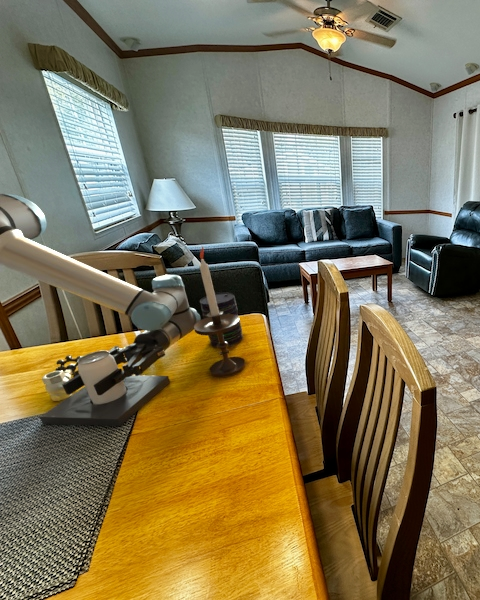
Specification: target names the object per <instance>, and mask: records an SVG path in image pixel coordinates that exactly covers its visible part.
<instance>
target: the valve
mask: <svg viewBox="0 0 480 600" xmlns="http://www.w3.org/2000/svg"><path fill="white" fill-rule="evenodd" d="M81 357H82V356H81V355H78V356H77V357H76V358H73V356H72V355H71V354H68V355H66V356H65V357H64V360H63V359H58V360H57V361H56V365H57V367H55V369H54V371H51V372H48V373H46V374H44V375H43V376H42V378H41V381H42V382H43V384H44V385H45V386H44V387H45V391H46V392H47V393H48V394H49V395H50V396H49V397H50V399H51V400H52V401H53V402H60V401H61V402H62V401H64V400H65V399H67V398H68V397H70V396H71V395H73V394H74V392H73V393H72V394H70V395H67V394H66V392H65V390H64V388H63V386H62V384H64V383H66V382H67V381H69V380H70V379H72V378H74V377H75V376H77V375H78V374H80V373H79V371H78V368H77V367H78V362H77V361H78V359H79V358H81ZM70 362H73V363H70ZM67 363H70V364H68V365H66V364H67ZM59 365H60V366H59ZM65 365H66V366H65Z"/></svg>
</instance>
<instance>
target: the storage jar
mask: <svg viewBox="0 0 480 600" xmlns="http://www.w3.org/2000/svg"><path fill="white" fill-rule="evenodd" d="M215 297H216V302H217V306H218V310H219V311H223V312H224V313H223V314H233V315H237V316H238V317H239V315H238V306H237V301H236V297H235V294H233V292H232V293H231V292H215ZM199 303H200V307H201V312H202V317H203V319H205V318H207V317H208V316H207V314H208V313H210V312H211V311H210V307H209V303H208V299H207V295H206V296H203V297H201V299H200V300H199ZM241 324H242V323H241V322H240V324H239V325H238V326H237V327H236V328H235V329H233V330H230V331H228V332H225V333H223V336H224V341H225V342H228V347H231V346H235V345H236V344H238V343H240V342H241V341H242V340H243V339H244V335H243V329H242V325H241ZM207 337H208V339H209V341H210V342H209V343H210V345H211V346H212V347H214V348H218V347H217V344H218V343H219V339H218V335H207Z"/></svg>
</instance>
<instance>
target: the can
mask: <svg viewBox="0 0 480 600" xmlns="http://www.w3.org/2000/svg"><path fill="white" fill-rule="evenodd" d="M109 351H110V350H96V351H92V352H90V353H87V354H84V355H82V356H81V358H79V359H78V361H77V362H78V366H77V368H76V369H77V370H78V371H79V374H80V376H81V378H82V380H83V382H84V387H86V389H87V391H88V394H89V396H90V398H91V400H92V402H93V404H104V403H108V402H111V401H114V400H116V399H118V398H120V397H121V396H123V395H124V394H125V393H126V392H127V390H126V387H125V384H124V382H123V380H122V381H121V382H120V383H118V384H116V385H115V386H113V387H112V388H110V389H109V390H108V391H106V392H105V393H104V394H102V395H97V392H96V390H95V388H94V385H95V384H96V383H98V382H99V381H100V380H102V379H103V378H105V377H106V376H108V375H109V374H111V373H112V372H114V371H115V370H117V369H118V368H119V367H118V365H117V364H116V362H115V359H114V357H113V356H112V355H110V354H109ZM77 362H76V363H77Z"/></svg>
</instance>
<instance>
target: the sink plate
mask: <svg viewBox="0 0 480 600" xmlns="http://www.w3.org/2000/svg"><path fill="white" fill-rule="evenodd" d="M123 382H124V384H125V387H126V390H127V392H126V393H125V394H124V395H123V396H121V397H120V398H118V399H116V400H114V401H111V402H108V403H104V404H93V402H92V400H91V398H90V396H89V394H88V391H87V389H86V387H85V386H82V387H81V388H79V389H78V390H76V391H75V392H73V394H72V395H71V396H70V397H68V398H67V399H64V400H61V402H60V403H58V404H56V405H55V406H53V407H52V408H50V409H49V410H47V411H45V412H44V413H43V414H41V415H40V416H39V419H40V422H41V423H42V424H43V425H66V426H67V425H69V426H70V425H71V426H72V425H73V426H106V427H107V426H108V427H115V426H116V427H121V426H122V425H123V424H124V423H125V422H127V421H128V420H129V419H130V418H131V417H132V416H134V415H135V414H136V413H137V412H139V410H140V409H142V407H144V406H145V405H147V403H148V402H149V401H150V400H152V399H153V398H154V397H155V396H157V394H159V393H160V392H161V391H162V390H163V389H164V388H166V386H168V385H169V384H170V383H171V380H170V378H169V375H145V374H144V375H143V374H141V375H139V376H135V374H134V375H132V376H130V377H126V378H125V379H124V380H123Z"/></svg>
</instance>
